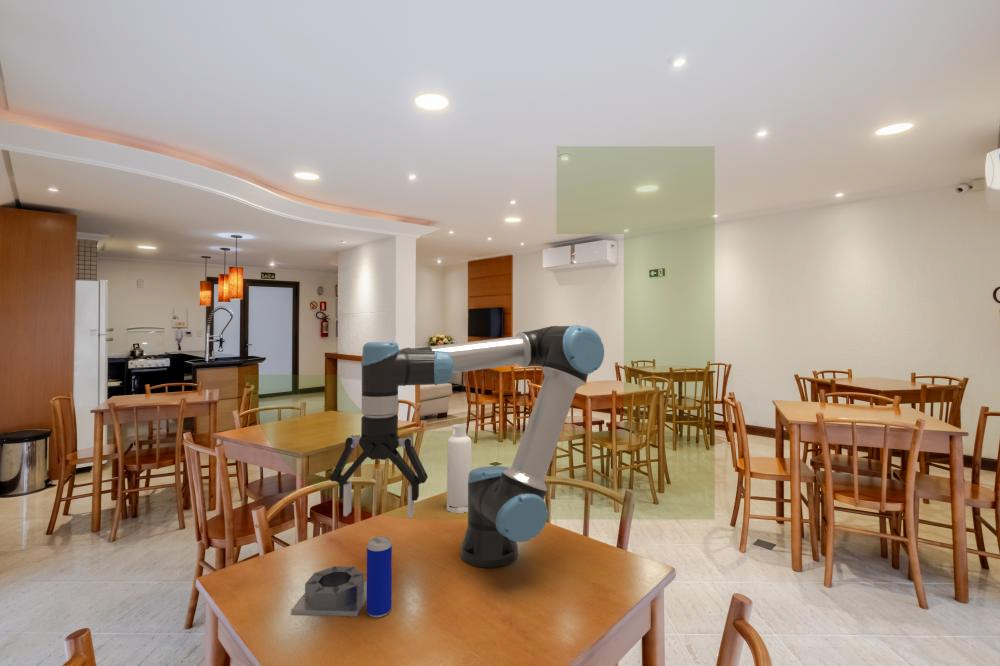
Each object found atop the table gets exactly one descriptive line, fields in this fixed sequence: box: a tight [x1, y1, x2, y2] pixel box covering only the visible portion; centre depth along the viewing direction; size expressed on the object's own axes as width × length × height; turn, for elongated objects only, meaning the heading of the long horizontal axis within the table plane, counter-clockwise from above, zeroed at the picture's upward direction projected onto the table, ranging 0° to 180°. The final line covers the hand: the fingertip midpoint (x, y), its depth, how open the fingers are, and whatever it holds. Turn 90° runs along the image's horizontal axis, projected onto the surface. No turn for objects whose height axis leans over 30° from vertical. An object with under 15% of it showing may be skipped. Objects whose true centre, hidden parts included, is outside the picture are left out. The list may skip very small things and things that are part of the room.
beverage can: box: [366, 536, 393, 618], centre depth 101 cm, size 5×5×15 cm
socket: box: [290, 565, 367, 617], centre depth 106 cm, size 14×12×4 cm
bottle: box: [446, 423, 472, 514], centre depth 160 cm, size 8×8×28 cm
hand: (378, 514), depth 101 cm, fingers open, 13 cm apart
